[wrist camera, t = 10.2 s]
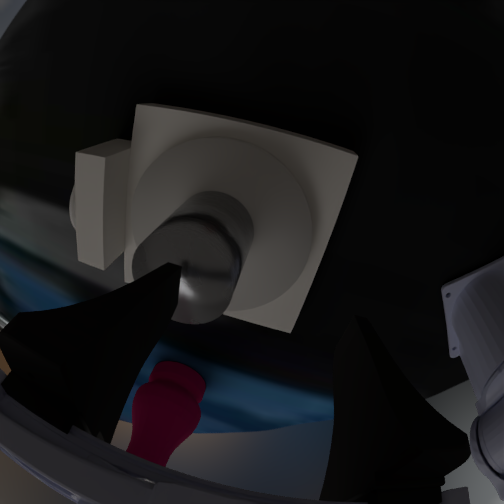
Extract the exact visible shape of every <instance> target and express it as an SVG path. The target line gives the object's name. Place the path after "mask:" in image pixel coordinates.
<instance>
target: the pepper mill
mask: <svg viewBox="0 0 504 504" xmlns="http://www.w3.org/2000/svg"><path fill="white" fill-rule="evenodd" d="M205 389H206V385H205V381H204V380H203V378H202V377H201V376H200V375H199V374H198V373H197V372H196V371H195V370H193V369H192V368H190V367H188V366H186V365H184V364H181V363H178V362H173V361H163V362H160V363H158V364H156V366H155V367H154V369H153V371H152V373H151V375H150V377H149V382H148V383H145V384H144V385H142V386H141V387H139V389H138V390H137V392H136V394H135V397H134V400H133V405H132V424H133V426H132V427H133V430H132V436H131V441H130V443H129V446H128V448H127V450H126V452H128V453H131V454H133V455H135V456H138V457H140V458H143V459H145V460H148V461H150V462H153V463H155V464H158V465H161V466H164V467H166V464H167V462H168V459H169V457H170V455H171V454H172V452H173V451H174V450H175V449H176V448H177V447H178V446H179V445H180V444H181V443H182V442H183V441H184V440H185V439H186V438H188V437H189V436H190V435H191V434H192V432H193V431H194V430H195V428H196V427H197V425H198V423H199V420H200V417H201V411H200V407H199V405H198V403H200V402H201V400H202V398H203V395H204V392H205Z"/></svg>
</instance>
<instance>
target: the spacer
mask: <svg viewBox="0 0 504 504" xmlns="http://www.w3.org/2000/svg"><path fill="white" fill-rule="evenodd" d="M253 238H254V225H253V221H252V218H251V216H250V214H249V212H248V211H247V209H246V208H245V207H244V205H243V204H242V203H241V202H239V201H238V200H237V199H236V198H234V197H233V196H231V195H229V194H226V193H223V192H219V191H203V192H200V193H197V194H195V195H193V196H191V197H190V198H188V199H187V200H186V201H185V202H184V203H183V204H182V205H181V206H180V207H179V208H177V209H176V210H175V211H174V212H173V213H172V214H171V215H170V216H169V217H168V218H167V219H166V220H165V221H163V222H162V223H161V224H160V225H159V226H158V227H157V228H156V229H155V230H154V231H153V232H152V233H151V234H150V235H149V236H148V237H147V238H146V239H145V240H144V241H143V242H142V243H141V244H140V245H139V246H138V247H137V249H136V251H135V253H134V256H133V259H132V275H133V279H134V281H135V280H137V279H138V278H140V277H142V276H144V275H146V274H148V273H149V272H151V271H153V270H155V269H156V268H158V267H160V266H162V265H164V264H165V263H167V262H170V263H173V264H176V265H180V266H182V270H181V279H180V288H179V298H178V305H177V308H176V310H175V312H174V314H173V316H172V318H171V319H172V320H174V321H178V322H181V323H186V324H202V323H206V322H210V321H212V320H214V319H216V318H218V317H219V316H220V315H222V314H223V313H224V312H225V310H226V309H227V308H228V306H229V304H230V301H231V299H232V296H233V293H234V290H235V288H236V285H237V282H238V280H239V277H240V274H241V272H242V269H243V266H244V264H245V261H246V258H247V256H248V253H249V250H250V248H251V245H252V242H253Z"/></svg>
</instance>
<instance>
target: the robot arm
mask: <svg viewBox="0 0 504 504" xmlns="http://www.w3.org/2000/svg"><path fill="white" fill-rule="evenodd" d="M181 270H182V266H180V265H176V264H173V263H170V262H167V263H165V264H164V265H162V266H160V267H158V268H156V269H155V270H153V271H151V272H149V273H148V274H146V275H144V276H142V277H140V278H138V279H137V280H135V281H133V282H131V283H129V284H127V285H125V286H123V287H121V288H119V289H116V290H114V291H112V292H110V293H107V294H105V295H102V296H100V297H97V298H94V299H91V300H88V301H85V302H81V303H77V304H74V305H70V306H66V307H61V308H56V309H50V310H44V311H34V312H20V313H18V314H17V315H16V316H15V317H14V318H13V319H12V320H11V321H10V322H9V323H8V324H7V325H6V326H5V327H4V328H3V329H2V330H1V331H0V349H1V351H2V353H3V355H4V357H5V359H6V361H7V363H8V365H9V367H10V369H11V372H10V373H9V374H8V375H6V374H5V373H4V372H3V371H2V370H1V369H0V450H1V451H2V452H3V453H5V454H6V455H7V456H8V457H9V458H11V459H12V460H13V461H14V462H16V463H17V464H19V465H20V466H21V467H22V468H24V469H25V470H26V471H28V472H29V473H30V474H32V475H33V476H35V477H36V478H37V479H39V480H40V481H42V482H43V483H45V484H46V485H48V486H49V487H51V488H52V489H54V490H55V491H57V492H59V493H60V494H62V495H63V496H65V497H67V498H68V499H70V500H72V501H73V502H75V503H77V504H470V500H469V492H468V487H462V488H456V489H450V490H446V491H443V492H441V486H443V485H444V484H445V478H444V476H445V475H447V474H449V473H450V472H452V471H453V470H455V469H456V468H458V467H459V466H461V465H462V464H463V463H464V462H466V460H467V459H468V458H469V456H470V454H471V453H472V457H473V459H474V462H475V464H476V465H477V467H478V469H479V470H480V471H481V472H482V473H483V474H484V475H485V476H487V478H488V479H489V480H490V481H491V482H492V484H493V485H494V487H495V488H496V490H497V492H498V495H499V497H500V499H501V500H503V501H504V256H503V257H501V258H499V259H497V260H495V261H493V262H491V263H489V264H487V265H485V266H483V267H481V268H479V269H477V270H474V271H472V272H470V273H468V274H466V275H464V276H462V277H459V278H457V279H455V280H453V281H450V282H448V283H446V284H444V285H443V286H442V288H441V292H442V298H443V304H444V311H445V318H446V325H447V334H448V343H449V354H450V357H451V358H455V357H457V356H459V355H460V357H461V359H462V361H463V364H464V367H465V369H466V372H467V374H468V377H469V380H470V382H471V385H472V388H473V390H474V393H475V396H476V398H477V400H478V401H477V402H476V404H475V405H476V408H477V411H478V414H479V416H477V417H476V418H475V420H474V421H473V423H472V426H471V430H470V445H469V440H468V436H467V434H466V433H464V432H463V431H462V430H460V429H459V428H457V427H456V426H454V425H453V424H452V423H450V422H449V421H448V420H447V419H446V418H444V417H443V416H442V415H441V414H440V413H438V412H437V411H436V410H435V409H434V408H433V407H432V406H431V405H430V404H429V403H428V402H427V401H426V400H425V399H424V398H423V397H422V396H421V395H420V394H419V392H418V391H417V390H416V389H415V388H414V387H413V385H412V384H411V383H410V382H409V381H408V379H407V378H406V377H405V375H404V374H403V373H402V371H401V370H400V369H399V367H398V366H397V364H396V363H395V361H394V360H393V358H392V357H391V355H390V354H389V352H388V351H387V349H386V347H385V346H384V344H383V343H382V341H381V339H380V338H379V336H378V335H377V333H376V331H375V330H374V328H373V327H372V325H371V323H370V322H369V321H368V319H367V318H364V317H360V316H356V315H354V316H353V317H352V319H351V321H350V323H349V325H348V327H347V328H346V330H345V332H344V334H343V335H342V337H341V339H340V341H339V343H338V344H337V346H336V348H335V352H334V362H333V391H334V426H333V435H332V443H331V449H330V455H329V461H328V467H327V471H326V475H325V480H324V484H323V488H322V491H321V495H320V499H319V500H307V499H299V498H291V497H283V496H277V495H270V494H265V493H259V492H254V491H249V490H244V489H239V488H235V487H231V486H226V485H222V484H219V483H215V482H211V481H207V480H204V479H200V478H197V477H194V476H190V475H187V474H184V473H181V472H178V471H175V470H172V469H169V468H166V467H164V466H161V465H158V464H155V463H153V462H150V461H148V460H145V459H143V458H140V457H138V456H135V455H133V454H131V453H128V452H126V451H124V450H122V449H119V448H117V447H115V446H113V445H111V444H110V443H111V440H112V438H113V434H114V432H115V429H116V426H117V423H118V421H119V418H120V416H121V413H122V410H123V408H124V405H125V403H126V401H127V398H128V396H129V394H130V391H131V389H132V387H133V385H134V382H135V380H136V378H137V376H138V374H139V372H140V370H141V368H142V366H143V364H144V363H145V361H146V359H147V358H148V356H149V355H150V353H151V351H152V350H153V348H154V347H155V345H156V344H157V342H158V340H159V339H160V337H161V336H162V334H163V332H164V331H165V329H166V328H167V326H168V325H169V323H170V320H171V318H172V316H173V314H174V312H175V310H176V308H177V305H178V298H179V288H180V279H181ZM447 293H449V294H448V295H446V294H447Z"/></svg>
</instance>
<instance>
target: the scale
mask: <svg viewBox="0 0 504 504" xmlns="http://www.w3.org/2000/svg"><path fill="white" fill-rule="evenodd" d="M357 159H358V155H357V154H356V153H355V152H354V151H352V150H349V149H346V148H343V147H340V146H337V145H334V144H331V143H328V142H325V141H321V140H318V139H315V138H312V137H308V136H305V135H301V134H298V133H294V132H291V131H287V130H284V129H280V128H276V127H272V126H268V125H264V124H260V123H256V122H252V121H248V120H243V119H239V118H234V117H230V116H225V115H220V114H215V113H210V112H205V111H199V110H193V109H188V108H182V107H175V106H169V105H162V104H155V103H145V104H137V106H136V112H135V119H134V126H133V134H132V141H129V140H124V139H115V140H111V141H108V142H105V143H102V144H99V145H95V146H92V147H89V148H86V149H83V150H81V151H78V152H76V162H75V185H74V188H73V190H72V194H71V198H70V206H69V212H70V219H71V222H72V225H73V227H74V228H75V229H76V237H77V251H78V261H81V262H83V263H86V264H88V265H91V266H94V267H96V268H99V269H102V270H105V269H106V268H107V267H108V266H109V265H110V264H111V263H112V262H113V261H114V260H115V259H116V258H117V257H118V256H119V255H120V254H122V253H123V252H124V274H125V282H127V283H131V282H133V281H134V279H133V275H132V259H133V256H134V253H135V251H136V249H137V247H138V246H139V245H140V244H141V243H142V242H143V241H144V240H145V239H146V238H147V237H148V236H149V235H150V234H151V233H152V232H153V231H154V230H155V229H156V228H157V227H158V226H159V225H160V224H161V223H162V222H163V221H165V220H166V219H167V218H168V217H169V216H170V215H171V214H172V213H173V212H174V211H175V210H176V209H177V208H179V207H180V206H181V205H182V204H183V203H184V202H185V201H186V200H187V199H188V198H190V197H191V196H193V195H195V194H197V193H200V192H203V191H219V192H223V193H226V194H229V195H231V196H233V197H234V198H236V199H237V200H238V201H239V202H241V203H242V204H243V205H244V207H245V208H246V209H247V211H248V212H249V214H250V216H251V218H252V221H253V225H254V238H253V242H252V245H251V248H250V250H249V253H248V256H247V258H246V261H245V264H244V266H243V269H242V272H241V274H240V277H239V280H238V282H237V285H236V288H235V290H234V293H233V296H232V299H231V301H230V304H229V306H228V308H227V309H226V310H225V312H224V313H223V314H224V315H228V316H231V317H234V318H238V319H241V320H245V321H248V322H252V323H255V324H259V325H262V326H266V327H269V328H273V329H277V330H281V331H284V332H288V333H291V331H292V329H293V327H294V324H295V322H296V320H297V317H298V315H299V313H300V310H301V308H302V306H303V303H304V301H305V298H306V296H307V294H308V291H309V289H310V286H311V284H312V282H313V279H314V277H315V274H316V272H317V269H318V267H319V264H320V262H321V259H322V257H323V254H324V251H325V249H326V246H327V244H328V241H329V238H330V236H331V233H332V230H333V228H334V225H335V222H336V220H337V217H338V214H339V211H340V209H341V206H342V203H343V200H344V197H345V195H346V192H347V189H348V186H349V183H350V180H351V177H352V174H353V171H354V168H355V165H356V162H357Z"/></svg>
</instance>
